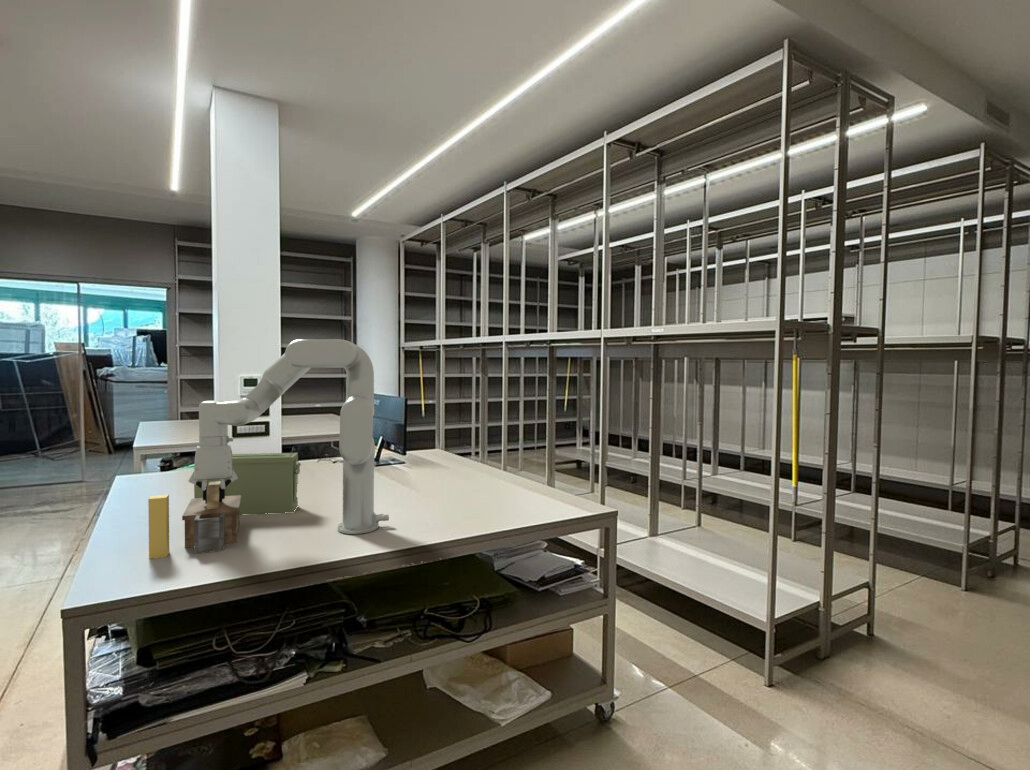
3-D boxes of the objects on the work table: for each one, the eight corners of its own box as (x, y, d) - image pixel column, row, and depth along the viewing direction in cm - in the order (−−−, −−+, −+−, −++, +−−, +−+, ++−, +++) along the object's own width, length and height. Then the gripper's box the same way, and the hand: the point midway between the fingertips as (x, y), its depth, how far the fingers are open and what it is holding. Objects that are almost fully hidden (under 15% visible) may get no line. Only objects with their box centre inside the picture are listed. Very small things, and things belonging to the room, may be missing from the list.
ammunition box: (297, 513, 189) (297, 456, 188) (193, 517, 182) (192, 458, 181) (301, 506, 198) (301, 451, 198) (203, 509, 191) (202, 453, 191)
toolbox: (239, 523, 176) (239, 499, 175) (235, 548, 152) (235, 520, 151) (193, 527, 170) (193, 502, 170) (181, 555, 146) (181, 525, 146)
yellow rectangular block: (169, 551, 149) (168, 494, 148) (166, 556, 145) (166, 497, 145) (152, 553, 147) (151, 495, 147) (149, 558, 143) (148, 498, 143)
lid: (241, 501, 176) (241, 476, 176) (237, 524, 152) (237, 495, 151) (191, 505, 170) (191, 479, 170) (179, 529, 146) (178, 499, 146)
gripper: (244, 438, 170) (244, 496, 170) (183, 441, 163) (184, 501, 164) (243, 442, 163) (243, 502, 164) (180, 444, 156) (180, 507, 157)
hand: (214, 501), depth 164 cm, fingers closed on lid, 3 cm apart
